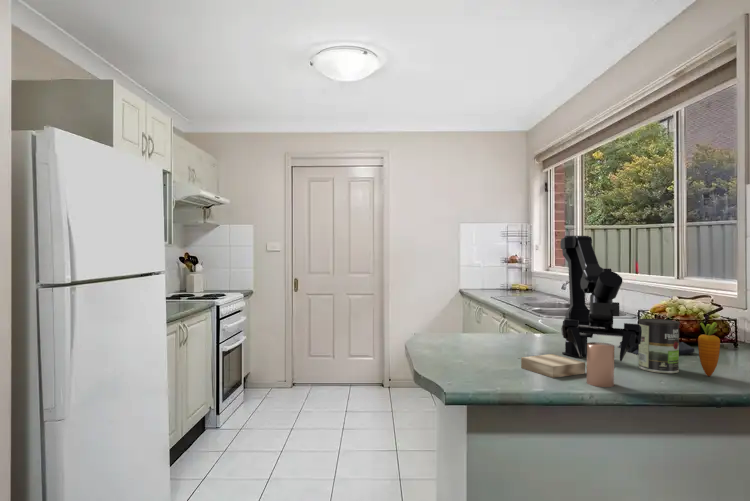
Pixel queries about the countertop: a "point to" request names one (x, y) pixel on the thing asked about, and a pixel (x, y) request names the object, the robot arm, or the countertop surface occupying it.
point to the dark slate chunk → (682, 349)
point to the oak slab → (553, 365)
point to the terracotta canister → (600, 364)
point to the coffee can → (659, 345)
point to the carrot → (709, 348)
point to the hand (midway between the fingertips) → (600, 358)
